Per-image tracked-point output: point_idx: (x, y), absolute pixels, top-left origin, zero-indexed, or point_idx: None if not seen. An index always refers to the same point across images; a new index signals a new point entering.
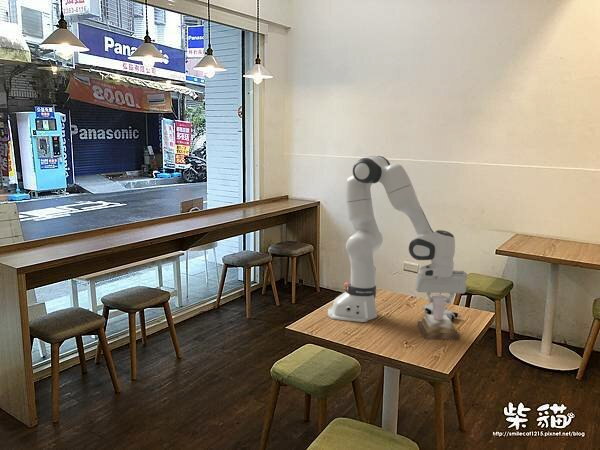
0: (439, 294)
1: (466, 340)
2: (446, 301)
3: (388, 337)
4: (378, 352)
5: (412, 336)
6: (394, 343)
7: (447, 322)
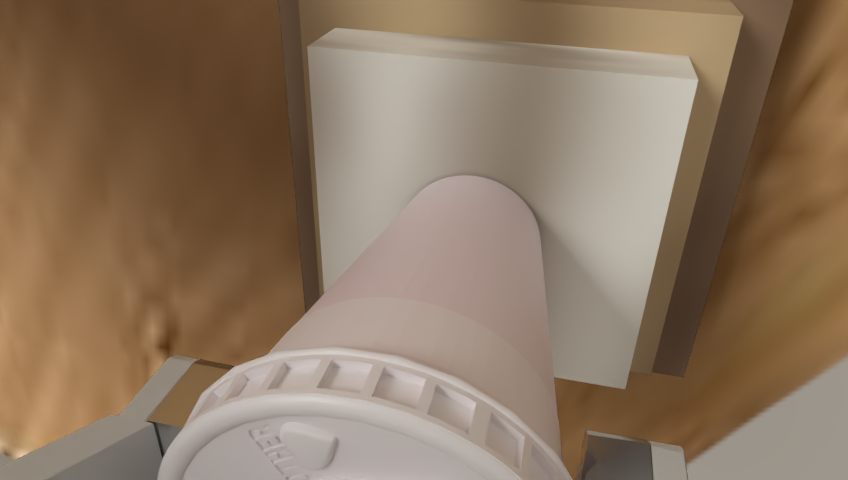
0: (401, 434)
1: (755, 364)
2: (582, 474)
3: (23, 237)
4: (7, 438)
5: (221, 232)
6: (83, 341)
7: (563, 367)
